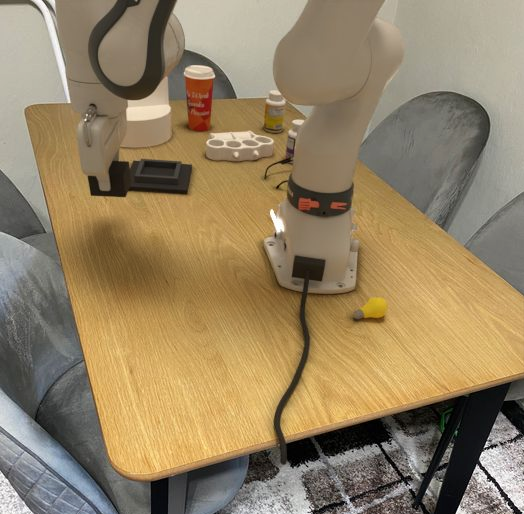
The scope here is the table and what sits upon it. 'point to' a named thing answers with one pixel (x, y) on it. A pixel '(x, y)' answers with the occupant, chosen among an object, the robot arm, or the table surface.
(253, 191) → the table surface
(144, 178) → the base pad
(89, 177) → the black block
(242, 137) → the white brass knuckles
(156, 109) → the container
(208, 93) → the coffee cup
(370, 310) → the light bulb
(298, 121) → the pill bottle
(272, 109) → the supplement bottle
